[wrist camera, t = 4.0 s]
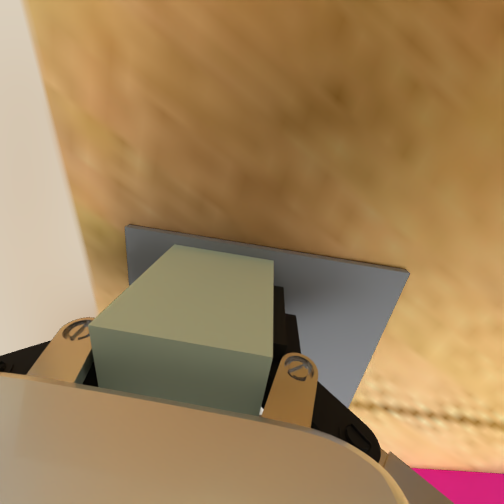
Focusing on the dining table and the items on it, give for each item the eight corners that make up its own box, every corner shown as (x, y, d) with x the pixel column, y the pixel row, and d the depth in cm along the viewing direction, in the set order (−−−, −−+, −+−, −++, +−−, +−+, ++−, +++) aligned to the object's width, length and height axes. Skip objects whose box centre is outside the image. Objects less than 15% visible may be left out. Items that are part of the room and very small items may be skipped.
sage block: (273, 260, 12) (272, 357, 6) (258, 338, 14) (247, 462, 8) (174, 244, 12) (87, 324, 6) (173, 323, 14) (107, 437, 8)
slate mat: (406, 269, 12) (410, 274, 11) (304, 494, 21) (305, 501, 20) (129, 224, 12) (123, 227, 12) (145, 464, 21) (142, 471, 20)
